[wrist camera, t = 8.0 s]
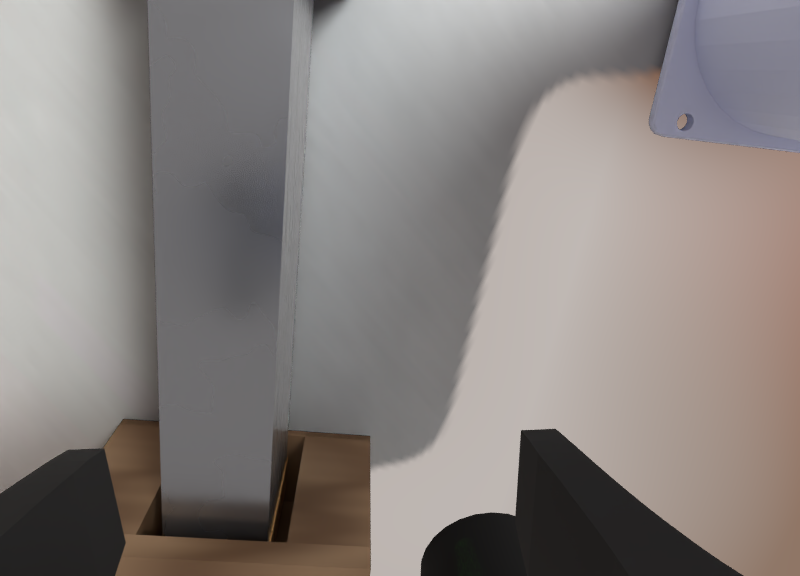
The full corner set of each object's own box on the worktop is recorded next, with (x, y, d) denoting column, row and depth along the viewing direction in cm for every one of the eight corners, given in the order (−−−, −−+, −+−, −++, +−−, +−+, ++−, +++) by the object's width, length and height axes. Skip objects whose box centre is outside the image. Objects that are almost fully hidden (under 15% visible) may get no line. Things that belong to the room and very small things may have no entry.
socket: (370, 436, 22) (370, 568, 16) (360, 520, 24) (357, 671, 18) (123, 418, 21) (30, 552, 16) (127, 507, 23) (43, 661, 17)
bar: (319, -61, 16) (301, -107, 12) (286, 484, 22) (266, 584, 18) (202, -77, 16) (139, -131, 11) (202, 479, 22) (161, 579, 18)
